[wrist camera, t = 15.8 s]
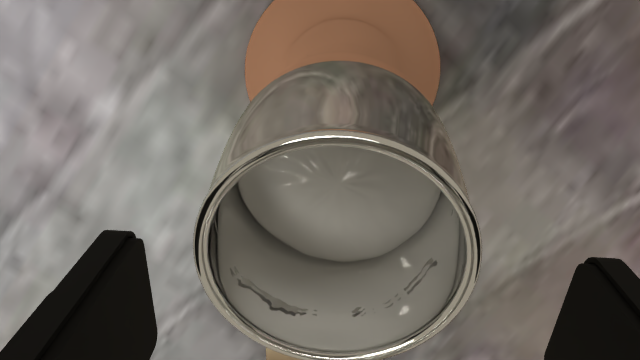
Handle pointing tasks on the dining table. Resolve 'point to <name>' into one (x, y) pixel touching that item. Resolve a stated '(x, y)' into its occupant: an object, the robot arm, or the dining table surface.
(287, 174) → the beer glass
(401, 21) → the terracotta coaster
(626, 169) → the dining table surface
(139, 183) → the dining table surface
